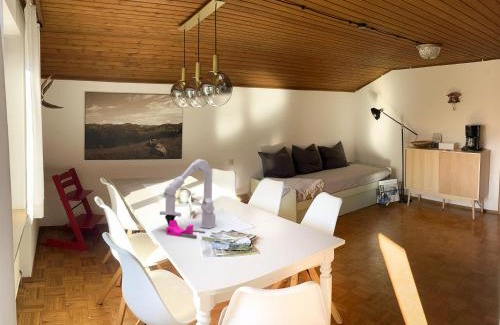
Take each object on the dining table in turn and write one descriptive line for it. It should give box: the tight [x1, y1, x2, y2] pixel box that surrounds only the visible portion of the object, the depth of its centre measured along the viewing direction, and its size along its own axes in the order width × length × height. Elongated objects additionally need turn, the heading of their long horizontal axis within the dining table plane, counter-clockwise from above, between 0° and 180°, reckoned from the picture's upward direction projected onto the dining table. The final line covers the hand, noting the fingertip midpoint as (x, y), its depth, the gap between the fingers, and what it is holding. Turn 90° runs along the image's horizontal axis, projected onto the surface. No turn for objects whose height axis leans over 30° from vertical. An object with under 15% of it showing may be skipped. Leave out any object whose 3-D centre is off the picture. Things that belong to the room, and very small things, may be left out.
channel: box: [181, 229, 206, 240], centre depth 236 cm, size 11×18×2 cm, turn 68°
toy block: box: [165, 219, 194, 238], centre depth 235 cm, size 15×6×8 cm, turn 66°
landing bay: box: [201, 231, 232, 243], centre depth 228 cm, size 13×19×2 cm, turn 68°
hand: (170, 227), depth 241 cm, fingers closed
